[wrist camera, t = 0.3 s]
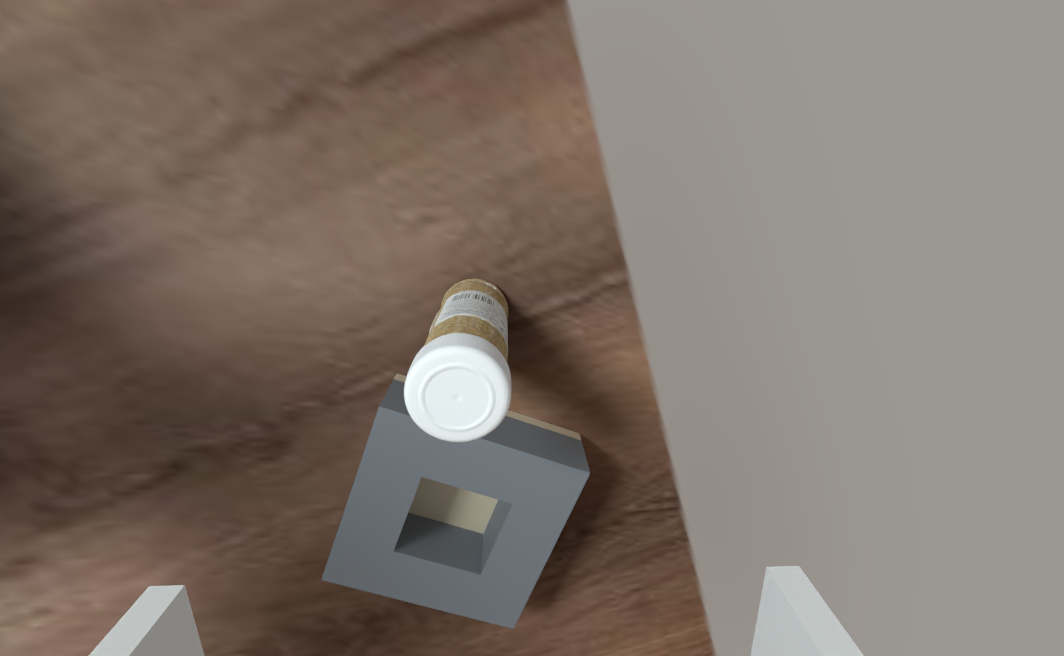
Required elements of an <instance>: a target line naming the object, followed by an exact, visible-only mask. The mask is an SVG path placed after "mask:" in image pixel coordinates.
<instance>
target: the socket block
mask: <svg viewBox="0 0 1064 656" xmlns="http://www.w3.org/2000/svg"><path fill="white" fill-rule="evenodd" d="M406 377H407V376H404V375H401V374H398V373H397V374H396V376H395V377H394V379H393V381H392V383H391V385H390V387H389V389H388V391H387V392H386V394H385V396H384V398H383V400H382V402H381V404H380V406H379V408H378V411H377V414H376V417H375V420H374V423H373V426H372V429H371V432H370V435H369V438H368V441H367V444H366V447H365V450H364V453H363V456H362V459H361V462H360V465H359V468H358V471H357V474H356V477H355V480H354V483H353V486H352V489H351V492H350V495H349V498H348V501H347V504H346V507H345V510H344V513H343V516H342V519H341V522H340V525H339V528H338V531H337V534H336V537H335V540H334V543H333V546H332V549H331V552H330V555H329V558H328V561H327V564H326V567H325V570H324V573H323V576H322V579H321V580H323V581H327V582H331V583H335V584H339V585H343V586H347V587H351V588H355V589H358V590H362V591H366V592H370V593H374V594H378V595H382V596H386V597H390V598H394V599H398V600H402V601H406V602H409V603H413V604H417V605H421V606H425V607H429V608H433V609H437V610H441V611H445V612H449V613H453V614H457V615H460V616H464V617H468V618H472V619H476V620H480V621H484V622H488V623H492V624H496V625H500V626H504V627H508V628H511V629H514V627H515V625H516V623H517V621H518V618H519V616H520V614H521V612H522V610H523V608H524V606H525V604H526V602H527V600H528V598H529V596H530V594H531V592H532V590H533V588H534V586H535V584H536V582H537V580H538V578H539V576H540V574H541V572H542V570H543V568H544V566H545V564H546V562H547V560H548V558H549V556H550V554H551V552H552V550H553V548H554V546H555V544H556V542H557V540H558V538H559V536H560V533H561V531H562V529H563V527H564V525H565V523H566V521H567V519H568V517H569V515H570V513H571V511H572V509H573V507H574V505H575V503H576V501H577V499H578V497H579V495H580V493H581V491H582V489H583V487H584V485H585V483H586V481H587V479H588V477H589V475H590V470H589V466H588V463H587V459H586V455H585V452H584V448H583V444H582V441H581V437H580V433H577V432H574V431H571V430H568V429H565V428H562V427H559V426H556V425H553V424H550V423H546V422H543V421H540V420H537V419H534V418H531V417H528V416H525V415H522V414H519V413H516V412H513V411H510V410H508V411H507V414H506V416H505V417H504V419H503V420H502V422H501V423H500V424H499V425H498V426H497V427H496V428H495V429H494V430H493V431H491V432H490V433H489V434H487V435H485V436H483V437H481V438H478V439H476V440H472V441H467V442H449V441H444V440H441V439H438V438H435V437H433V436H431V435H429V434H428V433H426V432H424V431H423V430H422V429H421V428H420V427H419V426H418V425H417V424H416V423H415V422H414V421H413V419H412V418H411V416H410V414H409V413H408V410H407V408H406V405H405V400H404V385H405V381H406Z"/></svg>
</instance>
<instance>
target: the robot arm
mask: <svg viewBox="0 0 1064 656" xmlns="http://www.w3.org/2000/svg"><path fill="white" fill-rule="evenodd" d="M89 656H204V653H203V649H202V646H201V642H200V638H199V635H198V631H197V628H196V624H195V620H194V617H193V613H192V610H191V606H190V602H189V599H188V595H187V592H186V588H185V585H173V586H149V587H148V588H147V589H146V591H145V592H144V593H143V594H142V595H141V596H140V597H139V599H138V600H137V601H136V602H135V603H134V604H133V605H132V607H131V608H130V609H129V610H128V611H127V612H126V613H125V615H124V616H123V617H122V618H121V619H120V620H119V622H118V623H117V624H116V625H115V626H114V627H113V628H112V630H111V631H110V632H109V633H108V634H107V635H106V636H105V638H104V639H103V640H102V641H101V642H100V643H99V645H98V646H97V647H96V648H95V649H94V650H93V651H92V653H91V654H90V655H89ZM750 656H864V655H863V654H862V653H861V651H860V650H859V648H858V647H857V646H856V644H855V643H854V642H853V640H852V639H851V637H850V636H849V635H848V633H847V632H846V630H845V629H844V628H843V626H842V625H841V623H840V622H839V621H838V620H837V618H836V617H835V615H834V614H833V612H832V611H831V610H830V608H829V607H828V605H827V604H826V603H825V602H824V600H823V599H822V597H821V596H820V594H819V593H818V592H817V590H816V589H815V588H814V586H813V585H812V583H811V582H810V581H809V580H808V578H807V576H806V575H805V574H804V572H803V571H802V570H801V568H800V567H799V566H780V567H766V572H765V578H764V584H763V589H762V595H761V600H760V605H759V611H758V616H757V622H756V627H755V633H754V639H753V644H752V649H751V655H750Z"/></svg>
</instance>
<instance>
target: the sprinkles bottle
mask: <svg viewBox="0 0 1064 656" xmlns="http://www.w3.org/2000/svg"><path fill="white" fill-rule="evenodd" d="M507 318H508V304H507V302H506V299H505V297H504V295H503V294H502V292H501V291H500V290H499V289H498V288H497V287H496V286H495V285H493V284H492V283H490V282H487V281H485V280H480V279H466V280H463V281H461V282H459V283H457V284H454V285H453V286H452V287H451V288H450V289H449V290H448V291H447V292H446V294H445V296H444V298H443V301H442V303H441V309H440V311H439V312H438V313H437V315H436V317H435V319H434V321H433V323H432V326H431V328H430V332H429V335H428V338H427V340H426V342H425V345H424V347H423V348H422V349H421V350H420V351H419V352H418V354H417V355H416V357H415V358H414V360H413V362H412V364H411V367H410V369H409V372H408V374H407V377H406V381H405V385H404V400H405V405H406V408H407V410H408V413H409V414H410V416H411V418H412V419H413V421H414V422H415V423H416V424H417V425H418V426H419V427H420V428H421V429H422V430H423V431H424V432H426V433H428V434H429V435H431V436H433V437H435V438H438V439H441V440H444V441H449V442H467V441H472V440H476V439H478V438H481V437H483V436H485V435H487V434H489V433H490V432H491V431H493V430H494V429H495V428H496V427H497V426H498V425H499V424H500V423H501V422H502V420H503V419H504V417H505V416H506V414H507V411H508V409H509V405H510V401H511V374H510V369H509V366H508V364H507V360H508V324H507Z"/></svg>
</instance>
